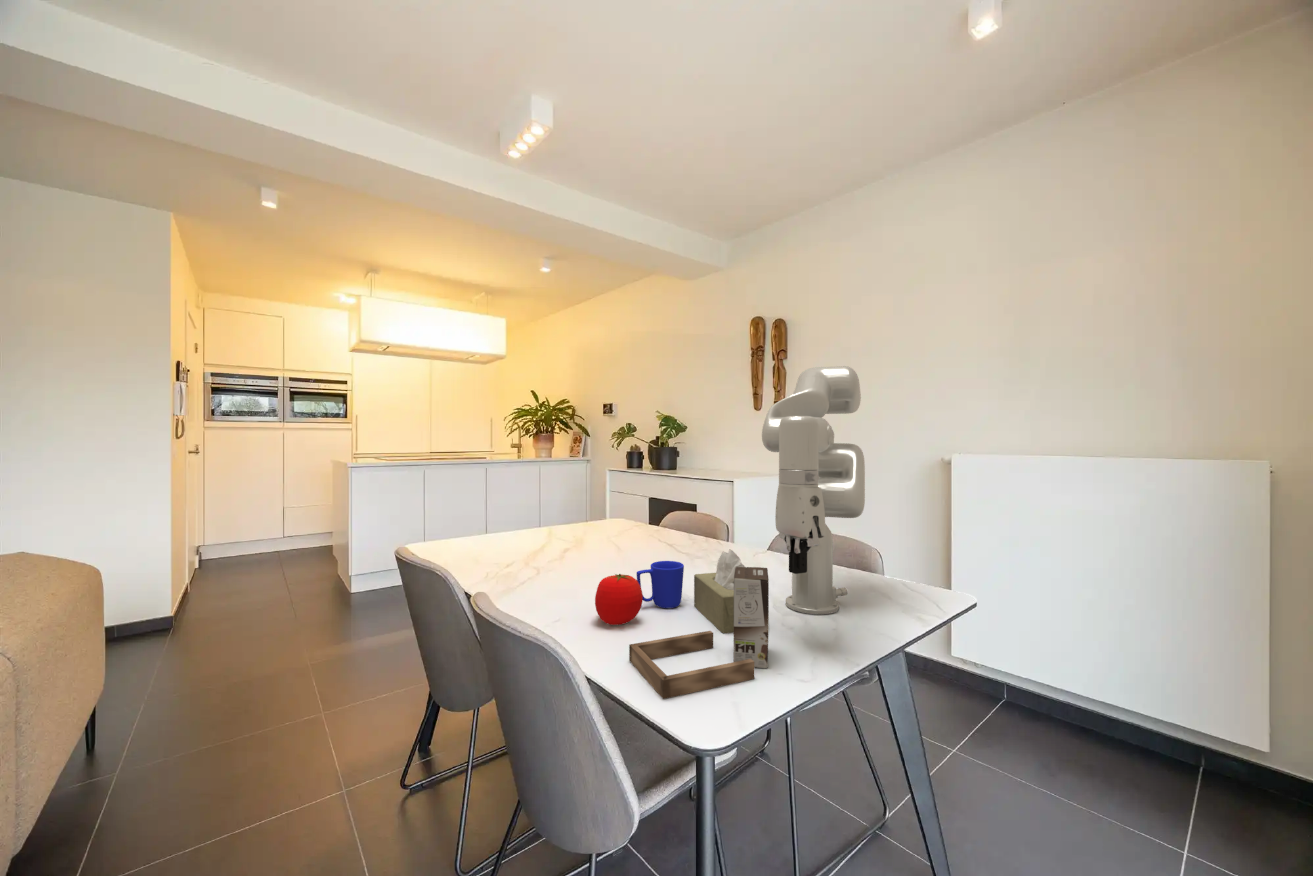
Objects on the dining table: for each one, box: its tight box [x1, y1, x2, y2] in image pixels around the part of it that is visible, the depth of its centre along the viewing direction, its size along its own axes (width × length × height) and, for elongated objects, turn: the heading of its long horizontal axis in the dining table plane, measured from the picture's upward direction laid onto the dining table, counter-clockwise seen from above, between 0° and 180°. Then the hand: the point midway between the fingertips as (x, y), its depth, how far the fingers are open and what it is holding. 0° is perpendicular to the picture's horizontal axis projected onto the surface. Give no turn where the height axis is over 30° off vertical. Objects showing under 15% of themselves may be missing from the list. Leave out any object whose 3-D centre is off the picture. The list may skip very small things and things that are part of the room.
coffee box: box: [732, 566, 770, 669], centre depth 99 cm, size 9×6×16 cm
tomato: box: [594, 573, 644, 626], centre depth 117 cm, size 10×11×11 cm
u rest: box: [628, 630, 755, 700], centre depth 94 cm, size 17×15×3 cm
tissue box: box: [693, 549, 746, 634], centre depth 121 cm, size 19×10×16 cm, turn 15°
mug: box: [636, 560, 685, 609], centre depth 128 cm, size 8×12×10 cm
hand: (797, 572), depth 103 cm, fingers closed
